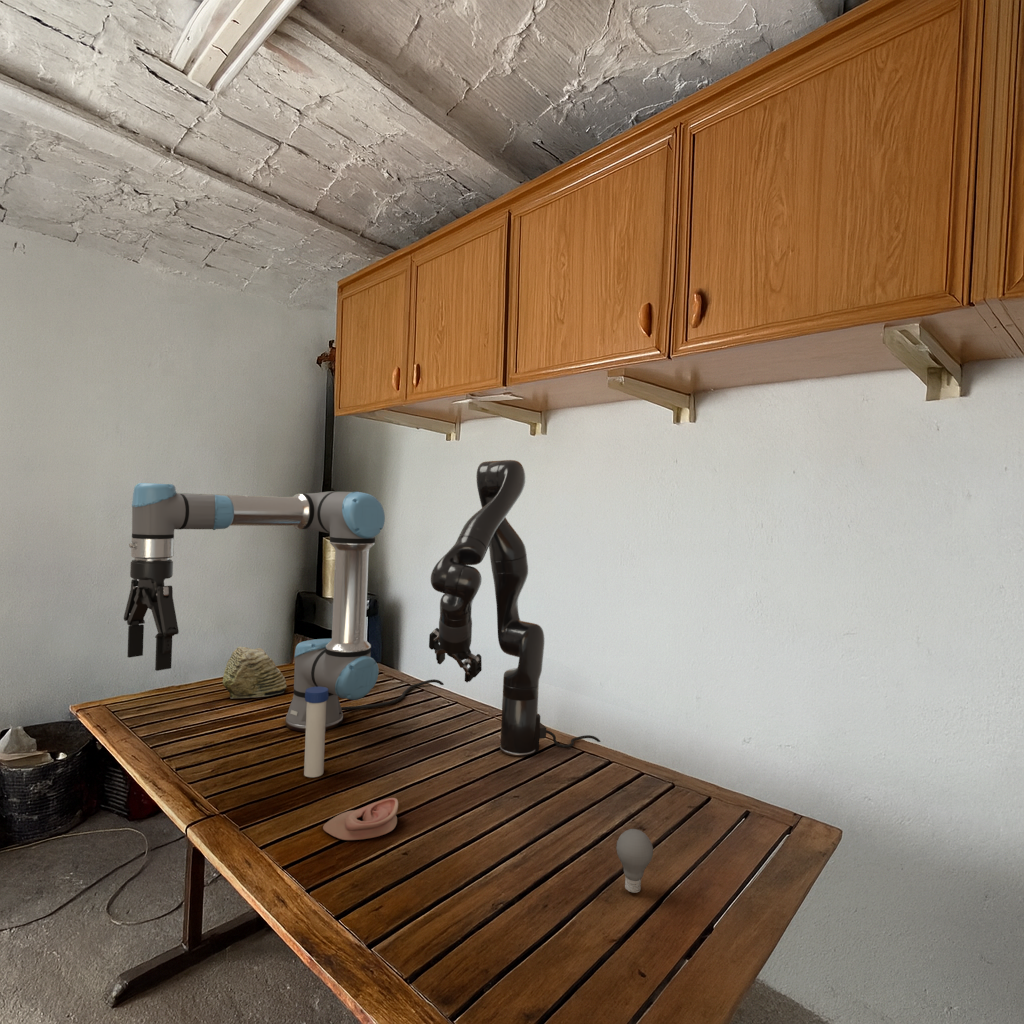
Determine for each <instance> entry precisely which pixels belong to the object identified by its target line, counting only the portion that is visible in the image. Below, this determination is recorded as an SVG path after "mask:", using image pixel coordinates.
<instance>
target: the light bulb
mask: <svg viewBox="0 0 1024 1024" xmlns="http://www.w3.org/2000/svg"><path fill="white" fill-rule="evenodd" d="M615 849H616V854H617V857H618V859H619V861H620V863H621V865H622V867H623V873H624V874H623V875H624V876H625V878H624V888H625V890H627V891H628V892H630V893H634V894H635V893H639V892H640V891H641V889H642V887H641V886H642V879H643V877H644V875H645V871H646V868H647V867H648V866H649V864H650V863H651V861H652V859H653V855H654V847H653V843H652V841H651V838H649V836H648V835H647V834H646V833H645V832H643V831H642V830H641V829H636V828H629V829H627V830H625V831H623V832H622V833H621V834H620V835H619V837H618V839H617V841H616V847H615Z"/></svg>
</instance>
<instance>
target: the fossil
mask: <svg viewBox="0 0 1024 1024" xmlns="http://www.w3.org/2000/svg"><path fill="white" fill-rule="evenodd" d="M222 676H223V677H222V685H223V687H224V688H225V690H226V691H228V693H229V698H230V699H250V698H264V697H271V696H275V695H281V694H284V693H285V691H286V689H287V687H288V686H287V680H286V678H285V676H284V674H283V673H282V672H281V669H279V668H278V667H277V665H276V663H275V662H274V660H273V659H272V658H271V657H270V656H269V655H268V654H267V653H266V652H265V650H264V649H263V648H260V647H258V648H251V647H247V646H246V647H245V646H238V647H237V648H236V649H235V650H233V651H232V653H231V656H230V657H229V659H228V660H227V663H226V666H225V668H224V671H223V675H222Z"/></svg>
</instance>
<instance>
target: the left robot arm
mask: <svg viewBox="0 0 1024 1024" xmlns="http://www.w3.org/2000/svg"><path fill="white" fill-rule="evenodd" d="M385 515H386V513H385V511H384V508H383V505H382V503H381V502H380V501H379V500H378V498H377V497H375V495H373V494H370V493H367V492H363V491H362V492H361V491H337V490H336V491H335V490H333V491H332V490H330V491H321V492H311V493H295V494H294V495H293V496H276V495H275V496H274V495H273V496H272V495H248V494H247V495H246V494H244V495H243V494H220V493H219V494H218V493H217V494H216V493H215V494H214V493H189V492H187V493H186V492H177V491H176V486H175V485H174V484H173V483H152V482H139V483H137V484H136V485H135V486H134V488H133V492H132V501H131V520H132V521H131V542H130V543H128V547H129V548H130V549H131V550H130V556H131V558H133V559H132V560H131V561H130V567H129V568H130V571H129V574H130V575H129V576H130V578H131V581H130V590H129V594H128V598H127V603H126V607H125V610H124V615H123V621H124V622H126V624H127V626H128V629H127V630H128V631H127V658H135V657H142V656H144V635H145V634H144V630H145V625H144V624H145V623H146V621H145V619H144V618H145V616H146V615H147V612H148V609H149V610H151V613H152V618H153V620H154V624H155V627H156V631H157V633H156V635H155V636H154V638H155V661H154V663H155V665H154V668H155V669H154V670H155V671H157V672H159V671H164V670H169V669H172V659H173V657H172V655H173V637H175V636H176V635H179V632H180V631H179V625H178V619H177V615H176V614H177V613H176V609H175V603H174V597H173V595H174V593H173V585H165V580H167V579H171V578H172V577H173V575H174V573H173V572H174V561H173V560H172V559H171V558H173V557H174V554H175V553H174V552H175V530H213V531H215V530H224V529H228V528H230V526H233V527H234V526H237V527H238V526H240V527H243V526H246V527H247V526H249V527H250V526H258V527H259V526H268V527H269V526H276V527H277V526H282V527H284V526H285V527H286V526H287V527H288V526H289V527H290V526H291V527H293V528H294V529H296V530H308V531H309V530H310V531H316V532H319V533H325V534H329V544H330V545H331V546H332V547H333V548H334V550H335V551H334V572H333V573H334V577H333V599H332V625H331V626H332V627H331V638H317V639H308V640H304V641H300V642H299V643H297V645H296V646H295V650H294V655H293V657H294V672H293V673H294V674H293V695H292V696H293V697H292V699H291V702H290V704H289V708H288V711H287V713H286V715H285V726H286V728H287V729H289V730H291V731H294V732H295V731H296V732H301V733H306V708H307V702H306V701H305V692H306V689H308V688H310V687H326V688H328V691H329V696H328V700H327V701H326V722H325V731H329V730H332V729H335V728H337V727H339V726H340V725H342V723H343V722H344V714H343V711H353V710H364V709H373V708H374V709H375V708H380V707H385V706H389V705H392V704H396V703H398V702H400V701H401V700H403V699H404V698H405V696H406V695H407V694H408V693H409V692H410V691H411V690H412V689H415V688H418V687H420V686H424V685H428V684H430V683H431V684H432V683H436V684H439V685H440V686H444V682H443V681H441V680H440V679H428V680H424V681H420V682H418V683H414V684H411V685H409V686H408V687H407V688H406V689H405V690H404V691H403V692H402V693H401V695H400V696H399V697H397V698H395V699H392V700H388V701H384V702H380V703H379V702H378V703H374V704H372V703H371V704H363V705H352V706H341V702H340V699H339V698H341V699H342V700H343V699H344V700H348V701H349V700H350V701H357V700H360V699H362V698H364V697H365V696H367V695H368V694H370V692H371V690H372V689H374V687H375V685H376V683H377V682H378V678H379V674H380V672H379V671H380V670H379V669H380V668H379V665H378V663H377V662H376V660H375V659H374V657H371V652H372V649H371V648H372V644H371V643H370V642H368V640H367V639H366V631H367V607H368V606H367V605H368V604H367V602H368V582H369V581H368V579H369V555H370V553H369V552H370V550H371V548H372V547H374V545H375V544H376V536H378V535H379V534H380V533H381V530H383V528H384V526H385V522H386V521H385V520H386V516H385Z"/></svg>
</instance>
